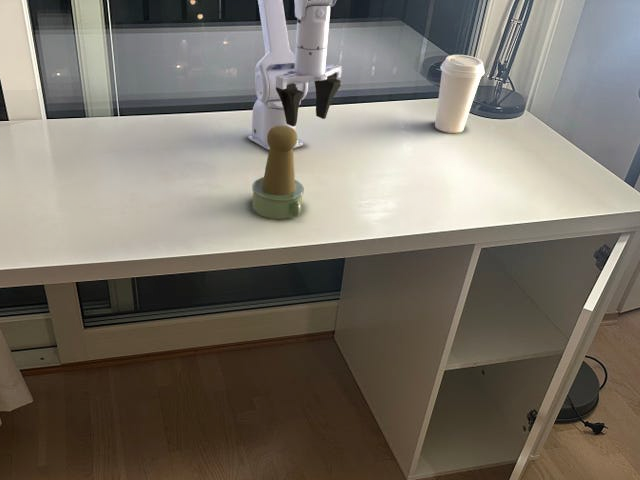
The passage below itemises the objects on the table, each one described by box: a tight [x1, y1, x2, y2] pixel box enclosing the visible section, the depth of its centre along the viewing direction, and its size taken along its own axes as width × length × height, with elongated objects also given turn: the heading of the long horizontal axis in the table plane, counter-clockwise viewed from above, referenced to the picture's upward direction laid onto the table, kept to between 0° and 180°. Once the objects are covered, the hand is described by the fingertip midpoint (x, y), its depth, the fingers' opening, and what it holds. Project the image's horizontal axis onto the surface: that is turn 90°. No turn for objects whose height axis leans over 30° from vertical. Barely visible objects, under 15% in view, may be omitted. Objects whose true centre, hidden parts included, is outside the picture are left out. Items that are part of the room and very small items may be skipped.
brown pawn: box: [262, 126, 298, 195], centre depth 124 cm, size 6×6×11 cm
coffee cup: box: [434, 54, 485, 134], centre depth 158 cm, size 10×10×15 cm
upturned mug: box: [251, 176, 305, 220], centre depth 129 cm, size 11×9×4 cm
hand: (306, 120), depth 135 cm, fingers open, 7 cm apart
